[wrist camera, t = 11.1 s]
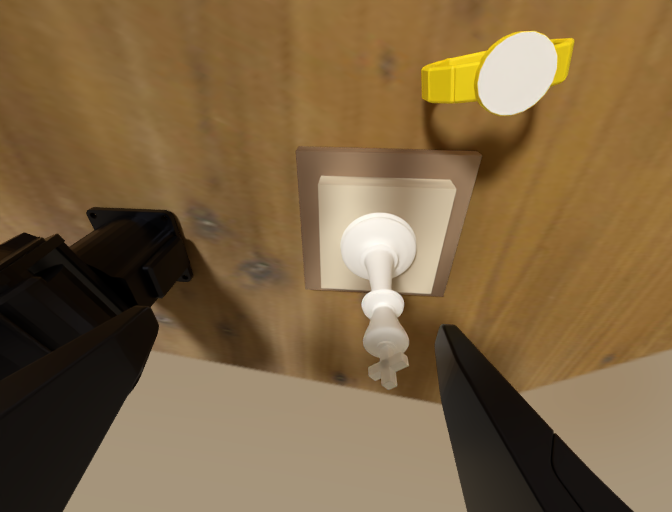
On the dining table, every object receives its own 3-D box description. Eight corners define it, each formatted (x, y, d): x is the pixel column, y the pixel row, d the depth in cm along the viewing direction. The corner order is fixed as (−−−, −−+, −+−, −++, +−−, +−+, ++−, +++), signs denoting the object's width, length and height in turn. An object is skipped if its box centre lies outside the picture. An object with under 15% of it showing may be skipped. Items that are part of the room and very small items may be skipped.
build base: (307, 281, 25) (302, 301, 23) (298, 146, 19) (290, 158, 17) (440, 288, 25) (447, 310, 22) (476, 150, 18) (491, 163, 16)
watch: (418, 106, 18) (429, 129, 13) (416, 50, 16) (427, 51, 11) (533, 85, 16) (594, 103, 11) (543, 21, 15) (618, 10, 10)
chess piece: (431, 249, 20) (481, 393, 11) (372, 286, 22) (378, 430, 14) (384, 196, 18) (404, 322, 10) (325, 242, 20) (299, 377, 12)
